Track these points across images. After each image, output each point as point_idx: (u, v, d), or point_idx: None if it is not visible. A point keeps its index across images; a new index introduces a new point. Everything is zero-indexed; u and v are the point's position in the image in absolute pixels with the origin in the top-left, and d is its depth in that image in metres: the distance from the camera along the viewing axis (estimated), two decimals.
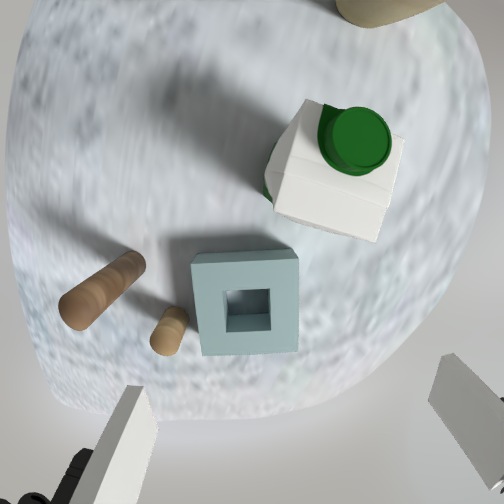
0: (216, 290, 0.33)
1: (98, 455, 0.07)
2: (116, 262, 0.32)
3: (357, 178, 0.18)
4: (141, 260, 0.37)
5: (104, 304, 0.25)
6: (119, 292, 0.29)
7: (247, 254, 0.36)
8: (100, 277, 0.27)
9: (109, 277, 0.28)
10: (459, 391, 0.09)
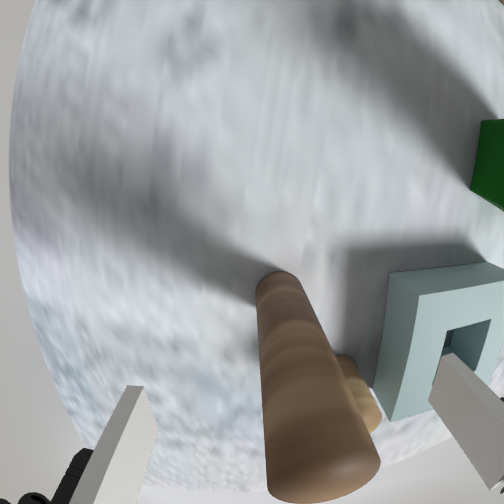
0: (440, 331, 0.18)
1: (98, 455, 0.07)
2: (292, 302, 0.16)
3: None
4: None
5: None
6: None
7: (459, 272, 0.20)
8: (322, 355, 0.11)
9: (328, 348, 0.12)
10: (459, 391, 0.09)
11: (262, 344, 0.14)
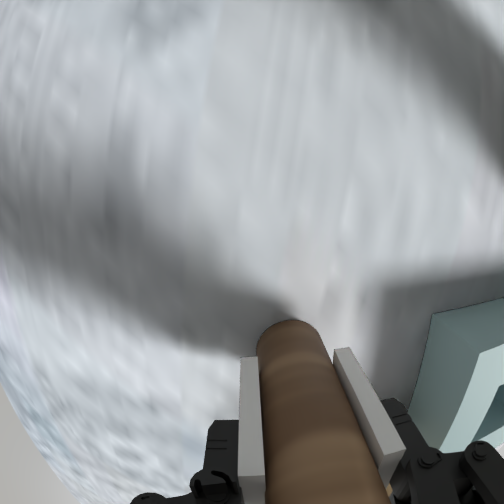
0: (492, 388, 0.11)
1: (246, 419, 0.09)
2: (316, 389, 0.10)
3: None
4: (323, 345, 0.14)
5: None
6: None
7: None
8: None
9: (377, 481, 0.06)
10: (344, 385, 0.11)
11: (268, 466, 0.07)
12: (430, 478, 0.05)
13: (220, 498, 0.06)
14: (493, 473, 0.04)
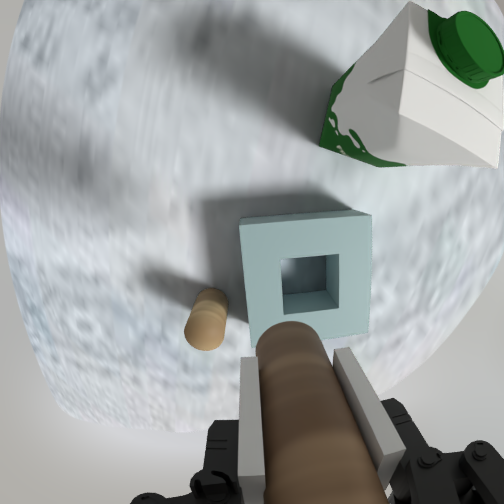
0: (272, 259, 0.26)
1: (246, 419, 0.09)
2: (315, 390, 0.10)
3: (474, 90, 0.11)
4: (322, 345, 0.14)
5: None
6: None
7: (305, 215, 0.28)
8: None
9: (375, 483, 0.06)
10: (344, 385, 0.11)
11: (267, 466, 0.07)
12: (430, 478, 0.05)
13: (220, 498, 0.06)
14: (493, 473, 0.04)
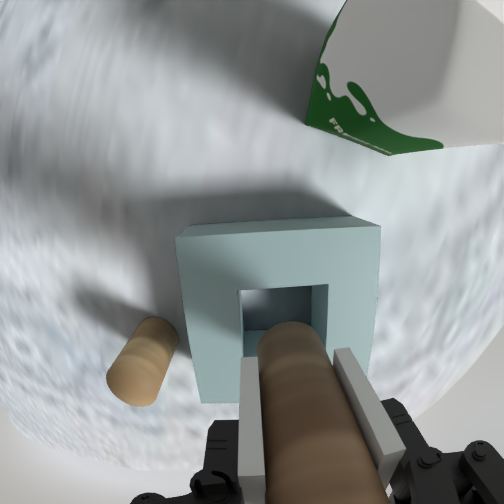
0: (225, 289, 0.17)
1: (246, 419, 0.09)
2: (316, 390, 0.10)
3: None
4: (323, 346, 0.14)
5: None
6: None
7: (281, 222, 0.19)
8: None
9: (376, 483, 0.06)
10: (344, 385, 0.11)
11: (269, 467, 0.07)
12: (430, 478, 0.05)
13: (220, 498, 0.06)
14: (493, 473, 0.04)
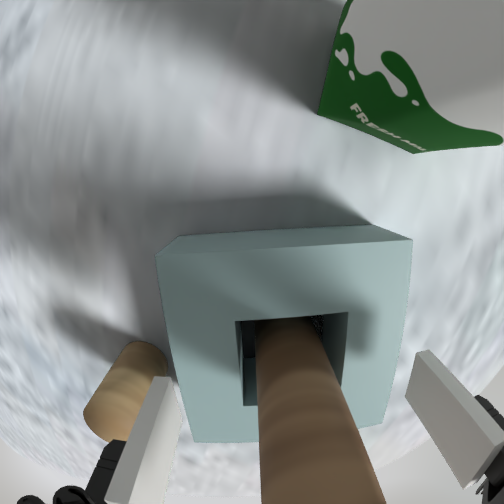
0: (220, 320, 0.13)
1: (132, 444, 0.07)
2: (299, 342, 0.13)
3: None
4: None
5: None
6: None
7: (289, 234, 0.16)
8: (337, 423, 0.08)
9: (344, 408, 0.09)
10: (433, 387, 0.10)
11: (261, 398, 0.11)
12: None
13: None
14: None
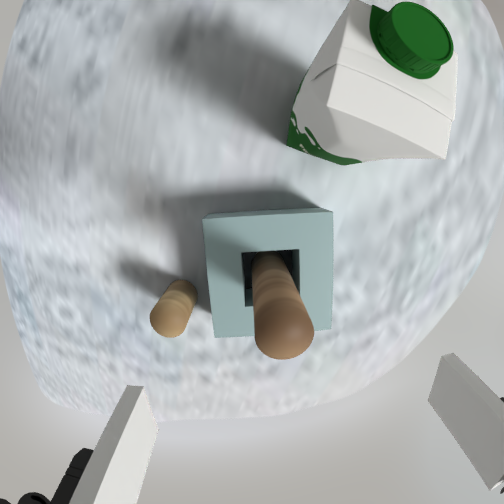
0: (233, 252, 0.27)
1: (98, 455, 0.07)
2: (273, 262, 0.27)
3: (419, 81, 0.12)
4: None
5: None
6: None
7: (269, 211, 0.30)
8: (286, 281, 0.22)
9: (291, 281, 0.23)
10: (459, 391, 0.09)
11: (254, 283, 0.25)
12: None
13: None
14: None
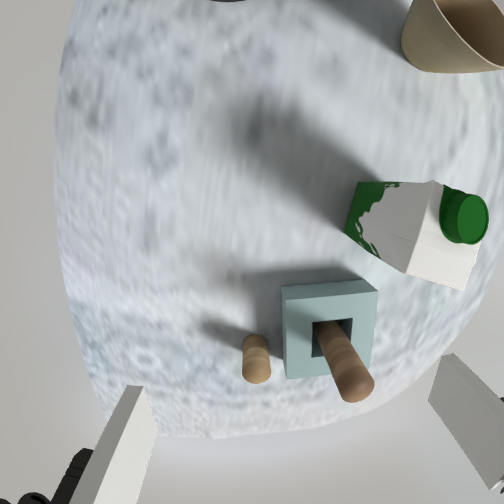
0: (307, 322, 0.36)
1: (98, 455, 0.07)
2: (335, 328, 0.35)
3: (459, 245, 0.21)
4: None
5: None
6: None
7: (330, 287, 0.38)
8: (351, 350, 0.30)
9: (353, 347, 0.31)
10: (459, 391, 0.09)
11: (325, 347, 0.33)
12: None
13: None
14: None
